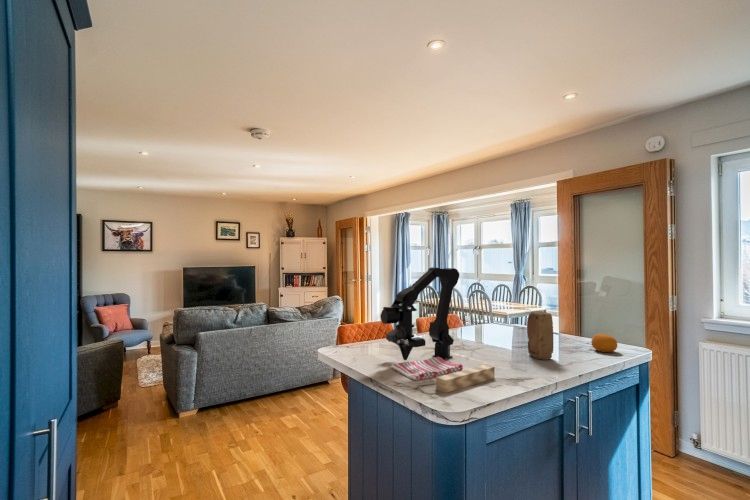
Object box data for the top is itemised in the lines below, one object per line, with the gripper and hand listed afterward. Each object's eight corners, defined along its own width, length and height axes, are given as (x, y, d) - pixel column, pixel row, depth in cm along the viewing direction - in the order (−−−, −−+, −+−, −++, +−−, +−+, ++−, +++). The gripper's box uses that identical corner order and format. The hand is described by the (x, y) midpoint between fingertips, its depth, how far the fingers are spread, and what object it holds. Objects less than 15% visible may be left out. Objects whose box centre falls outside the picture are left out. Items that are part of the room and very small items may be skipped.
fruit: (623, 353, 173) (623, 336, 173) (602, 354, 171) (602, 336, 171) (606, 348, 183) (606, 332, 183) (586, 349, 182) (586, 332, 182)
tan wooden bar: (485, 375, 140) (485, 364, 140) (494, 378, 136) (494, 366, 137) (436, 389, 124) (436, 377, 124) (445, 393, 121) (445, 380, 121)
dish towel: (464, 373, 144) (464, 364, 144) (414, 382, 133) (414, 372, 133) (437, 362, 159) (437, 354, 159) (389, 369, 148) (389, 361, 148)
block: (555, 360, 161) (554, 313, 162) (539, 361, 160) (539, 313, 160) (539, 353, 172) (539, 310, 172) (524, 354, 170) (524, 310, 171)
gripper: (376, 321, 159) (376, 358, 159) (405, 327, 144) (405, 368, 144) (396, 318, 166) (396, 354, 165) (426, 324, 151) (426, 363, 150)
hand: (405, 360), depth 156 cm, fingers closed
